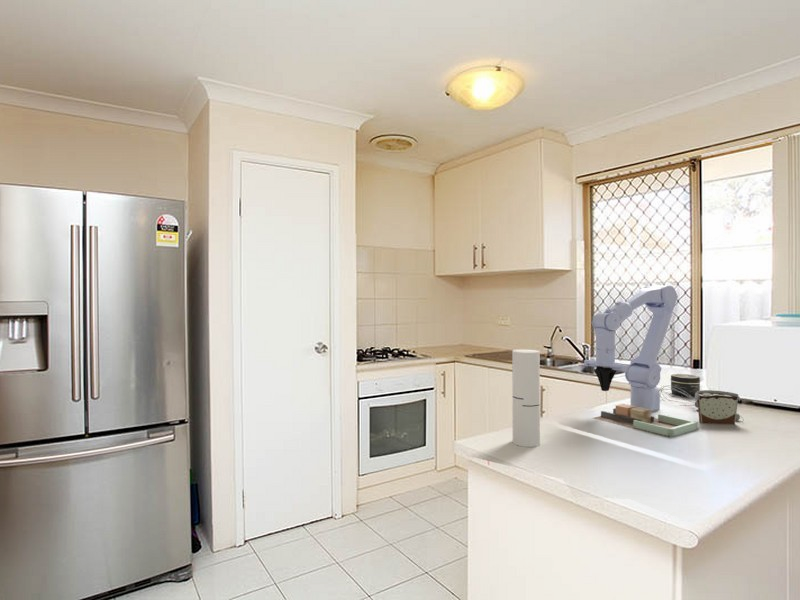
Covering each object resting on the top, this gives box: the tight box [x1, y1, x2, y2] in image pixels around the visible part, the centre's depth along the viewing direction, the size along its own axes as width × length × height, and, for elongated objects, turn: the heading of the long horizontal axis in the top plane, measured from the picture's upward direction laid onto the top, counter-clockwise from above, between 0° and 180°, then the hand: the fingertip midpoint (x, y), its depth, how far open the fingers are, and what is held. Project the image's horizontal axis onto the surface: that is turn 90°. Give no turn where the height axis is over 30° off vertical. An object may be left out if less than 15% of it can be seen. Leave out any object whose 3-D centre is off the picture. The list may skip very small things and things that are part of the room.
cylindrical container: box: [511, 348, 541, 448], centre depth 126 cm, size 7×7×25 cm
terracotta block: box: [615, 403, 635, 417], centre depth 146 cm, size 4×4×4 cm
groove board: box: [593, 407, 700, 439], centre depth 141 cm, size 16×24×2 cm, turn 31°
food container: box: [693, 389, 741, 425], centre depth 143 cm, size 12×6×10 cm, turn 84°
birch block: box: [631, 407, 652, 423], centre depth 142 cm, size 4×4×4 cm
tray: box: [633, 413, 699, 438], centre depth 135 cm, size 14×11×2 cm
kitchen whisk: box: [658, 385, 744, 423], centre depth 161 cm, size 6×34×6 cm, turn 13°
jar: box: [670, 373, 701, 398], centre depth 184 cm, size 10×10×8 cm
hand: (605, 390), depth 152 cm, fingers closed
